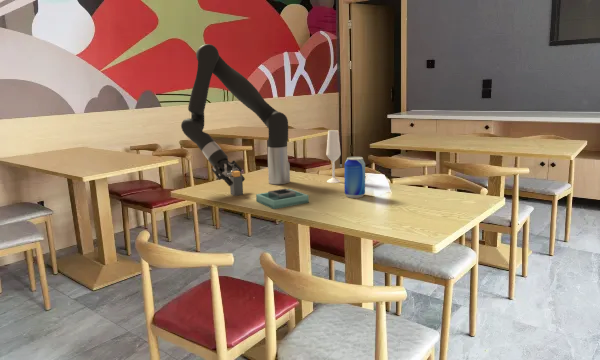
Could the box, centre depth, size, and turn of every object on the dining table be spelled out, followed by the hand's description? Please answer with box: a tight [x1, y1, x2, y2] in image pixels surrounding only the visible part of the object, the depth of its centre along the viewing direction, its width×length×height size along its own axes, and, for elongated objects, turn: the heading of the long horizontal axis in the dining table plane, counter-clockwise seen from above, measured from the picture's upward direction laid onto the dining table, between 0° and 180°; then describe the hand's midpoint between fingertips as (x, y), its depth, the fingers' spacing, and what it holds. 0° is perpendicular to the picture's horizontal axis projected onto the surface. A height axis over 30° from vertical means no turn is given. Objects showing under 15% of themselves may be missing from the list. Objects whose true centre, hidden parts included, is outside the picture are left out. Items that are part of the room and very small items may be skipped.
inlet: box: [268, 188, 296, 200], centre depth 195 cm, size 8×8×3 cm
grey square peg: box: [229, 171, 244, 197], centre depth 209 cm, size 4×4×10 cm
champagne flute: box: [325, 129, 341, 184], centre depth 228 cm, size 7×7×24 cm
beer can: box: [344, 156, 366, 199], centre depth 201 cm, size 8×8×16 cm
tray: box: [255, 188, 310, 210], centre depth 195 cm, size 16×14×3 cm
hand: (237, 182), depth 208 cm, fingers open, 8 cm apart
